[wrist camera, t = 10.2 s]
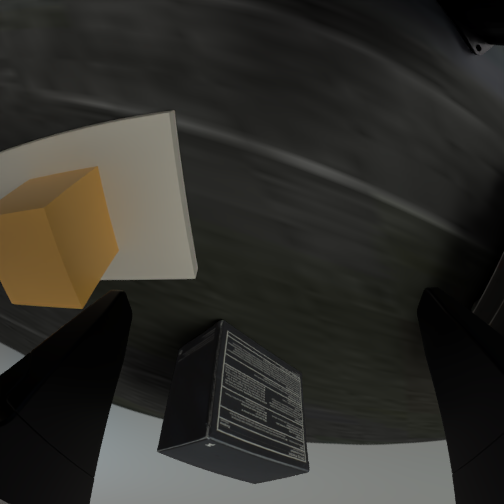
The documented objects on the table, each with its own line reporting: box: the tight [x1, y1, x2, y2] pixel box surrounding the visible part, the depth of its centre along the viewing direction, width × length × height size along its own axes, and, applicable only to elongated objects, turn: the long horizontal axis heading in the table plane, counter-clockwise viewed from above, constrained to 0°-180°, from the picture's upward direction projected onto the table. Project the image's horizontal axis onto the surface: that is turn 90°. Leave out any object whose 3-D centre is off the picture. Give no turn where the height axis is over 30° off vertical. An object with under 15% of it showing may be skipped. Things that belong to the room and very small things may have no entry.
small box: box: [157, 320, 309, 484], centre depth 24 cm, size 11×6×10 cm, turn 44°
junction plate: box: [0, 110, 198, 280], centre depth 18 cm, size 16×11×5 cm, turn 93°
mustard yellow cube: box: [0, 166, 119, 309], centre depth 16 cm, size 6×6×6 cm
